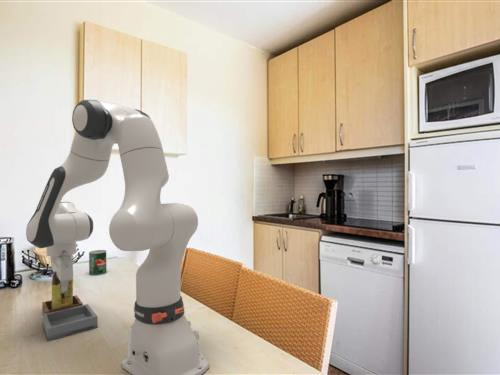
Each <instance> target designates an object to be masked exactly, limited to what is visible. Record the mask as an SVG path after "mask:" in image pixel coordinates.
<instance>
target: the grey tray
mask: <svg viewBox="0 0 500 375" xmlns="http://www.w3.org/2000/svg"><path fill="white" fill-rule="evenodd" d="M41 318H42V320H41V324H42V329H43V331H44V333H45V336H46V339H47V342H49V341H53V340H58V339H60V338H64V337H68V336H72V335H75V334H79V333H83V332H85V331H87V332H88V331H89V330H93V329H97V328H98V324H99V323H98V321H99V319H98V315H97V314H96V313H95V311H94V309H92V308H91V306H90V305H89V304H88V303H87V304H83V305H81V306H77V307H73V308H68V309H64V310H60V311H55V312H51V313H46V314H43V313H42V316H41Z"/></svg>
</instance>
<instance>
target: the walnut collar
mask: <svg viewBox="0 0 500 375" xmlns="http://www.w3.org/2000/svg"><path fill="white" fill-rule="evenodd" d="M41 304H42V306H41V307H42V312H41V313H42V314H46V313H51V312H55V311H60V310H64V309H68V308H73V307H77V306H81V305H84V303H83V301H81V299H80V298H79V297H78V295H73V305H70V306H66V307H61V308H57V309H52V299H50V300H47V301H43V302H41Z"/></svg>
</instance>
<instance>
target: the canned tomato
mask: <svg viewBox="0 0 500 375" xmlns="http://www.w3.org/2000/svg"><path fill="white" fill-rule="evenodd" d="M88 267H89V268H88V273H89V276H92V277H93V276H102V275H106V274H107V250H106V249H95V250H91V251H89V252H88Z"/></svg>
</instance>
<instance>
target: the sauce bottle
mask: <svg viewBox="0 0 500 375" xmlns="http://www.w3.org/2000/svg"><path fill="white" fill-rule="evenodd" d="M51 282H52V283H51V300H52V309H57V308H61V307H66V306H70V305H73V296H74V294H73V293H74V292H73V291H74V289H73V288H74V284H73V283H74V279H73V280H72V281H68V286H67V291H66V292H61V282H60V280H59V279H58V277H57V275H56V271H55V273H54V272H53V275H52V278H51Z"/></svg>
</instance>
